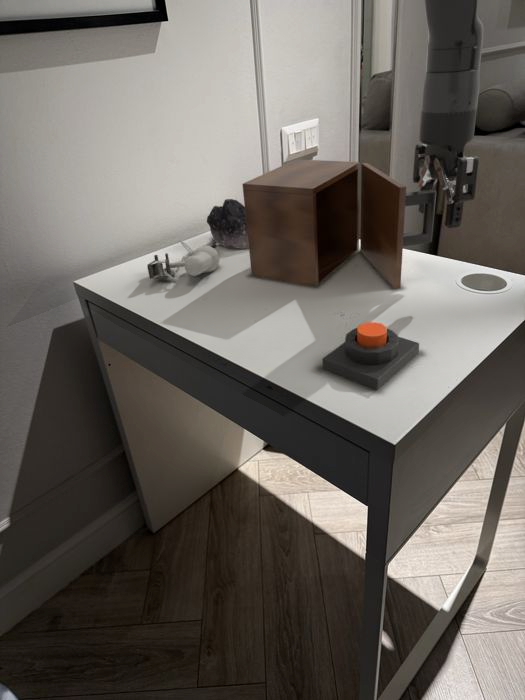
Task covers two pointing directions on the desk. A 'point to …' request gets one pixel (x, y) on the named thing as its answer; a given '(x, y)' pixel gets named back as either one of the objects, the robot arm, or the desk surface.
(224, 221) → the crystal cluster
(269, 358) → the desk surface
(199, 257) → the clip-on lamp
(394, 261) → the cabinet door
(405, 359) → the button box
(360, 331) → the release button
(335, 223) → the cabinet
